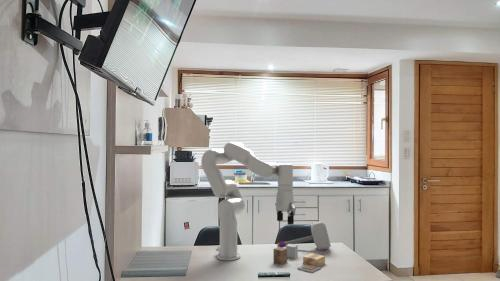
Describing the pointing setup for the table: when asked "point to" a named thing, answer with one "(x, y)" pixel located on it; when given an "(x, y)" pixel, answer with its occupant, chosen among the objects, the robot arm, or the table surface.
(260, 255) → the table surface
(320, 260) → the oak base
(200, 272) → the table surface
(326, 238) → the hammer
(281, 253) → the walnut block
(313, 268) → the swatch tile
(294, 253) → the grey block
